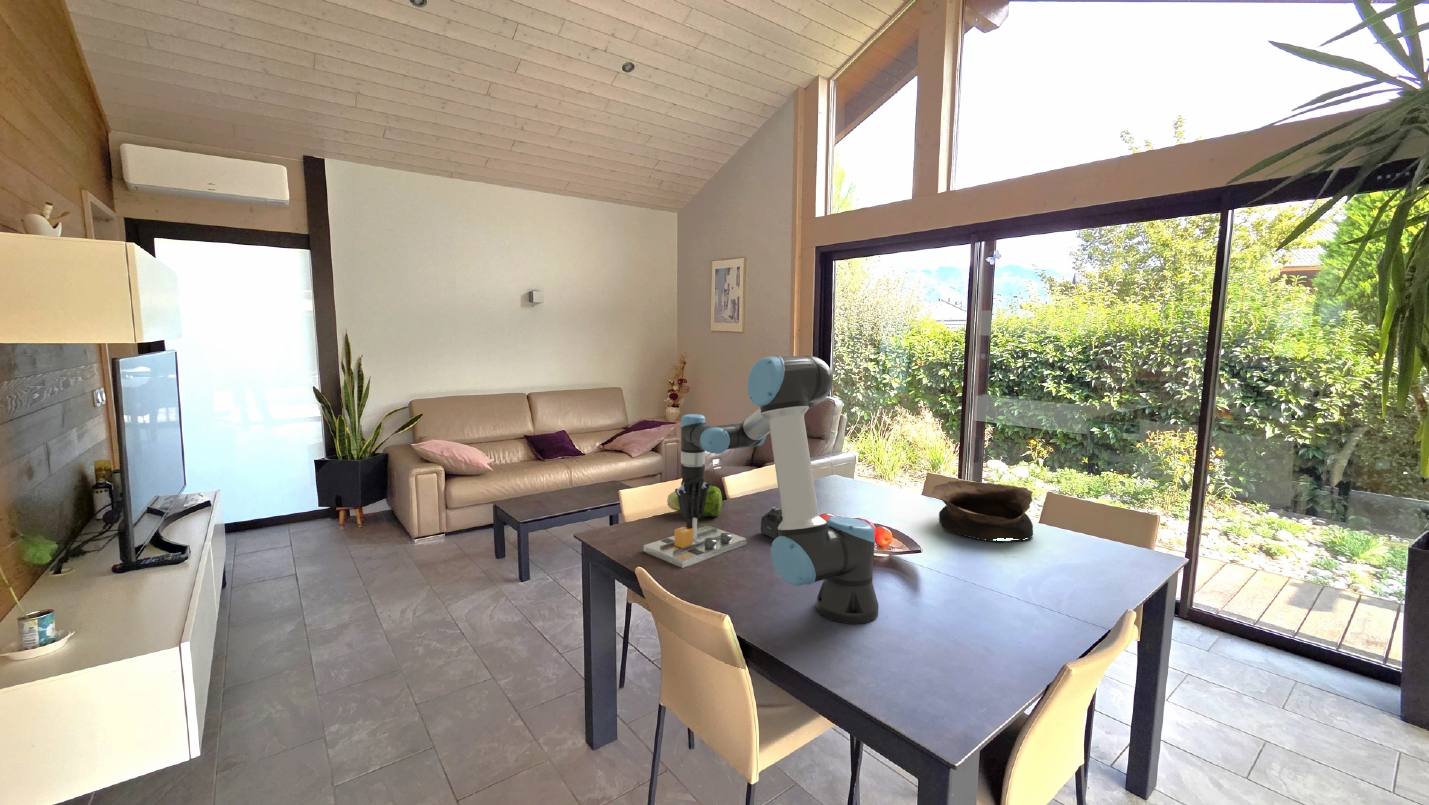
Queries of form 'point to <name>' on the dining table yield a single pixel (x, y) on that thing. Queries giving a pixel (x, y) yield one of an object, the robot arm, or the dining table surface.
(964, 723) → the dining table surface
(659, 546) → the console
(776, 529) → the camera
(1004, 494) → the bowl
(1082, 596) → the dining table surface
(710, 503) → the lettuce
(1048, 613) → the dining table surface
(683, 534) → the fader
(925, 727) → the dining table surface
